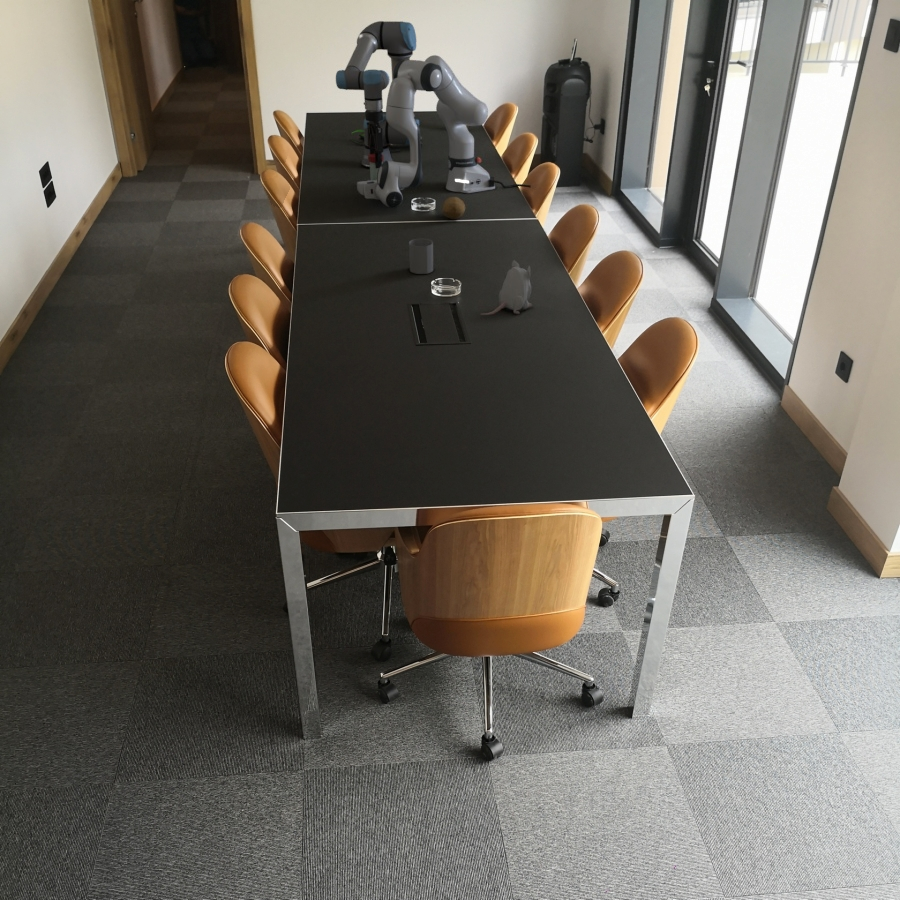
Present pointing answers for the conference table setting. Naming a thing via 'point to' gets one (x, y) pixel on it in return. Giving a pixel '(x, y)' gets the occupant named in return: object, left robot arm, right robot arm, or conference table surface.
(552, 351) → the conference table surface
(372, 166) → the jar
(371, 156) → the lid
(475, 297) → the conference table surface
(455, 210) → the potato
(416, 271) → the cup
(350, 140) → the scepter
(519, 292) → the toy
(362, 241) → the conference table surface
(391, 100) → the right robot arm
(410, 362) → the conference table surface
